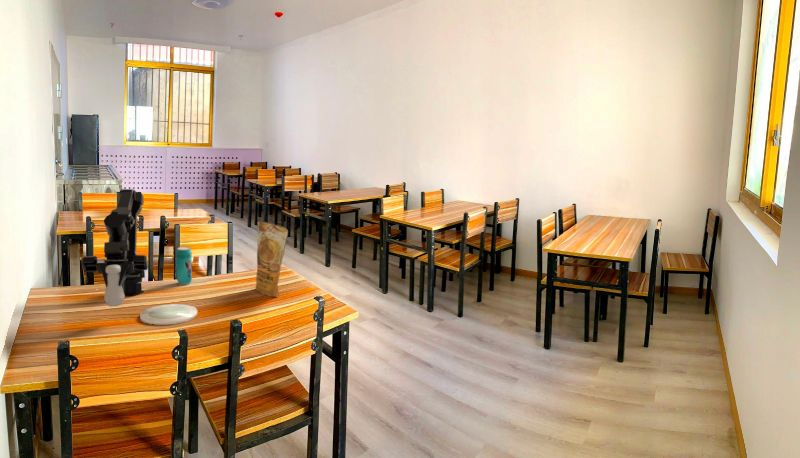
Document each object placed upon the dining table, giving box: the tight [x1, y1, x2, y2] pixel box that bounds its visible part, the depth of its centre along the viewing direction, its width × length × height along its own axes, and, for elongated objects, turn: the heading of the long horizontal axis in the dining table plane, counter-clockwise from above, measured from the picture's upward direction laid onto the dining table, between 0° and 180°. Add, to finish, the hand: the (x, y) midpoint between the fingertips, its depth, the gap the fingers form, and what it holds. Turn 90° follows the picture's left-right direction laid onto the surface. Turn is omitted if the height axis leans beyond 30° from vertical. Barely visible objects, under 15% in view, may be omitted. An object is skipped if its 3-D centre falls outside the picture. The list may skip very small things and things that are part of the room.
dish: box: [139, 303, 198, 326], centre depth 181 cm, size 18×18×1 cm
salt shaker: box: [103, 265, 126, 307], centre depth 170 cm, size 6×6×13 cm
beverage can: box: [176, 246, 193, 286], centre depth 218 cm, size 6×6×15 cm
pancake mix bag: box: [255, 221, 289, 298], centre depth 211 cm, size 7×19×28 cm, turn 44°
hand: (113, 286), depth 168 cm, fingers closed on salt shaker, 3 cm apart
